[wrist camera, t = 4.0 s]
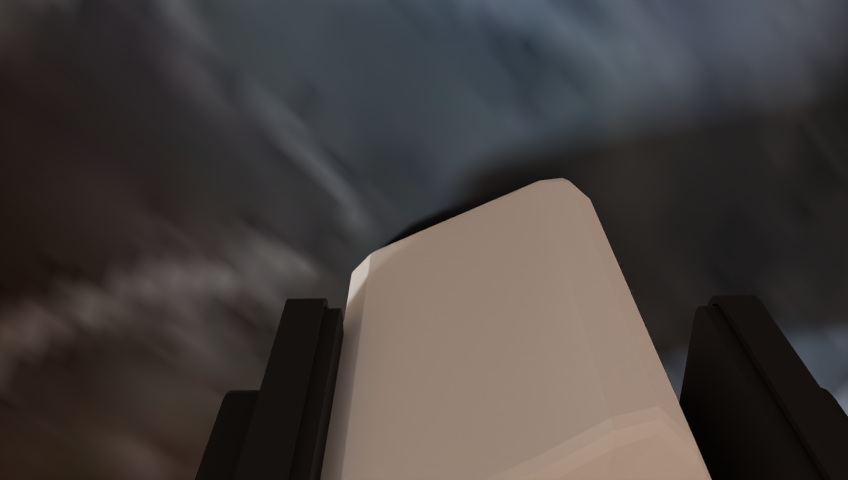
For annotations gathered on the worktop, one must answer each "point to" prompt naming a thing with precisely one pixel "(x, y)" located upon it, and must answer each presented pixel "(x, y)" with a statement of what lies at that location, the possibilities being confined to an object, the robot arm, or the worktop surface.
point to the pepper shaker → (503, 356)
